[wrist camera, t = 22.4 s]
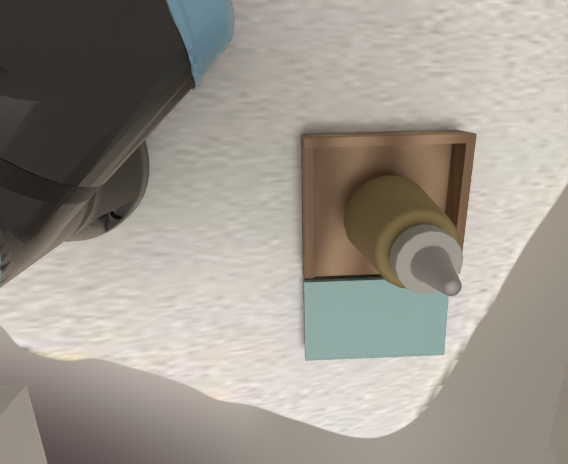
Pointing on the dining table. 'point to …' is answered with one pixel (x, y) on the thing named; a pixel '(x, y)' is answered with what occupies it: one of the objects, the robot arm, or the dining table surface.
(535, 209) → the dining table surface
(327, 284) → the panel
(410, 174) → the crate
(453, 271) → the squeeze bottle
